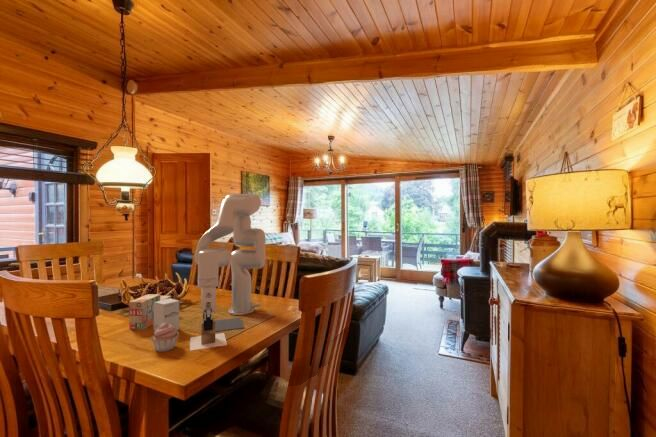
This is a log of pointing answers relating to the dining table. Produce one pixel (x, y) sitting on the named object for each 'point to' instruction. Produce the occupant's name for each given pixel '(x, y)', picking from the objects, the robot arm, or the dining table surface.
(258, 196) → the robot arm
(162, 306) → the supplement box
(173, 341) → the cupcake
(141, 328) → the white printed carton
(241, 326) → the mat
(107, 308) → the dining table surface
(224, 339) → the tile
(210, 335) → the walnut block
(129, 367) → the dining table surface
